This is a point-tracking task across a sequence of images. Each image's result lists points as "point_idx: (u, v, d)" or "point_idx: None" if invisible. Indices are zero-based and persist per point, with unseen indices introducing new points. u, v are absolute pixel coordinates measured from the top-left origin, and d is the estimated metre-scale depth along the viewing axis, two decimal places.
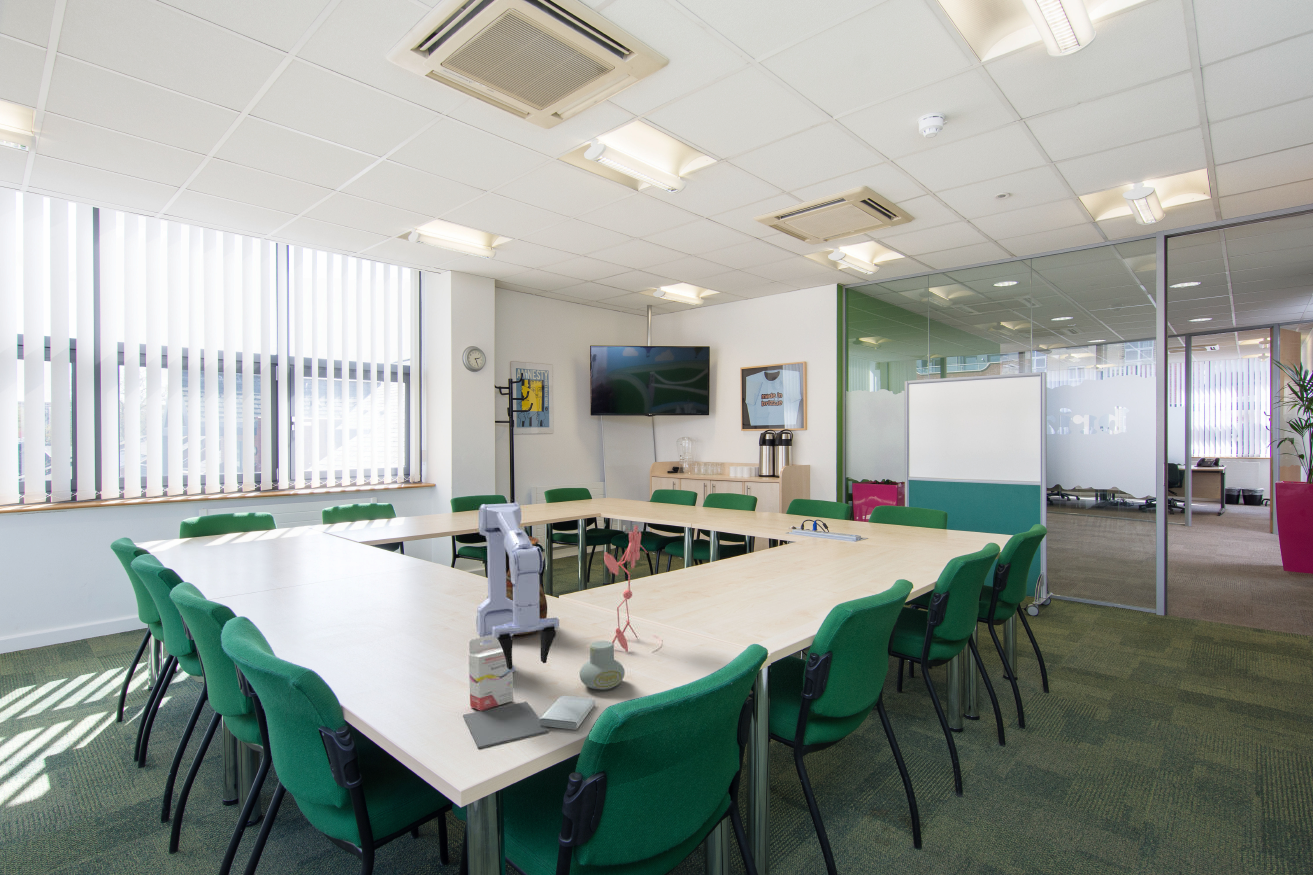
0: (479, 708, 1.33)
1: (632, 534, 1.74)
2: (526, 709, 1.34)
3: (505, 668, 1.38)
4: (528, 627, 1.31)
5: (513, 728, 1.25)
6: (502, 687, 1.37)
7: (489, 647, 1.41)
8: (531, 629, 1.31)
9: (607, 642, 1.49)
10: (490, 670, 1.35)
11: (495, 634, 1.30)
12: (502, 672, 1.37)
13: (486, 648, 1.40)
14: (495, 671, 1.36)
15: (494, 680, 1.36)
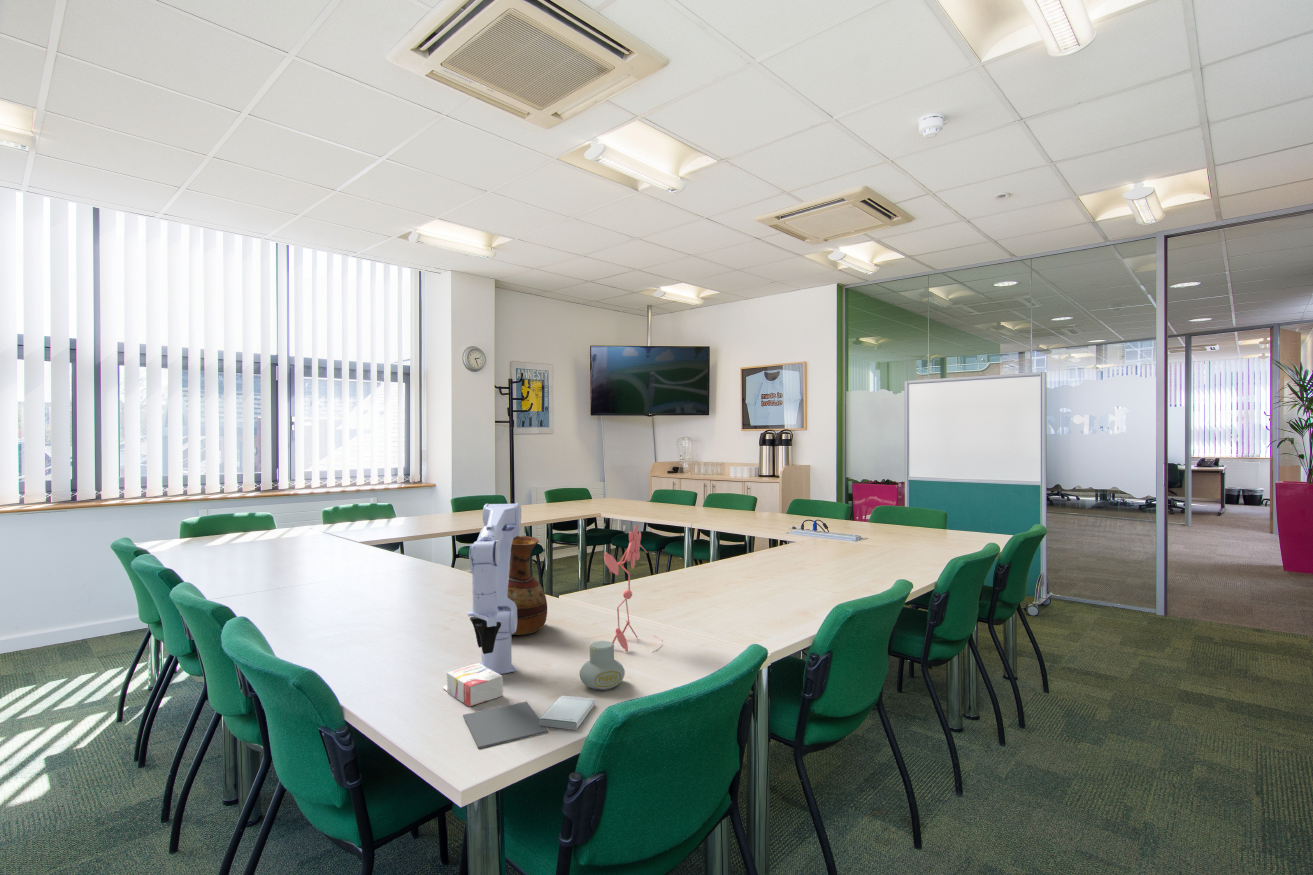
0: (468, 687, 1.37)
1: (632, 534, 1.74)
2: (526, 709, 1.34)
3: (479, 668, 1.46)
4: (470, 612, 1.43)
5: (513, 728, 1.25)
6: (484, 674, 1.43)
7: None
8: (467, 614, 1.42)
9: (607, 642, 1.49)
10: (464, 672, 1.44)
11: None
12: (478, 670, 1.45)
13: None
14: (469, 671, 1.44)
15: (472, 674, 1.43)
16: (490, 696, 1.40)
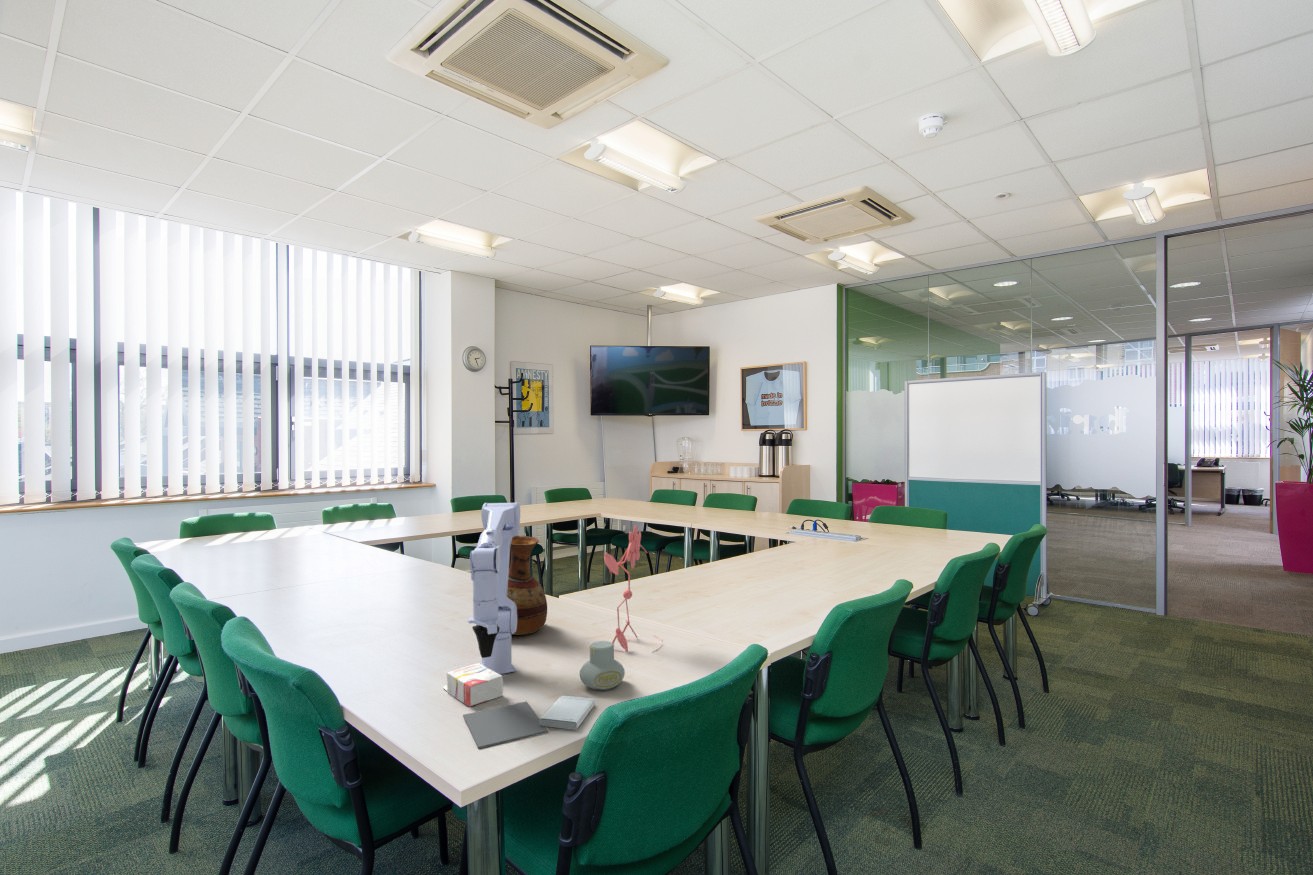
0: (468, 687, 1.37)
1: (632, 534, 1.74)
2: (526, 709, 1.34)
3: (479, 668, 1.46)
4: (470, 618, 1.42)
5: (513, 728, 1.25)
6: (484, 674, 1.43)
7: None
8: (468, 621, 1.41)
9: (607, 642, 1.49)
10: (464, 672, 1.44)
11: None
12: (478, 670, 1.45)
13: None
14: (469, 671, 1.44)
15: (472, 674, 1.43)
16: (490, 696, 1.40)
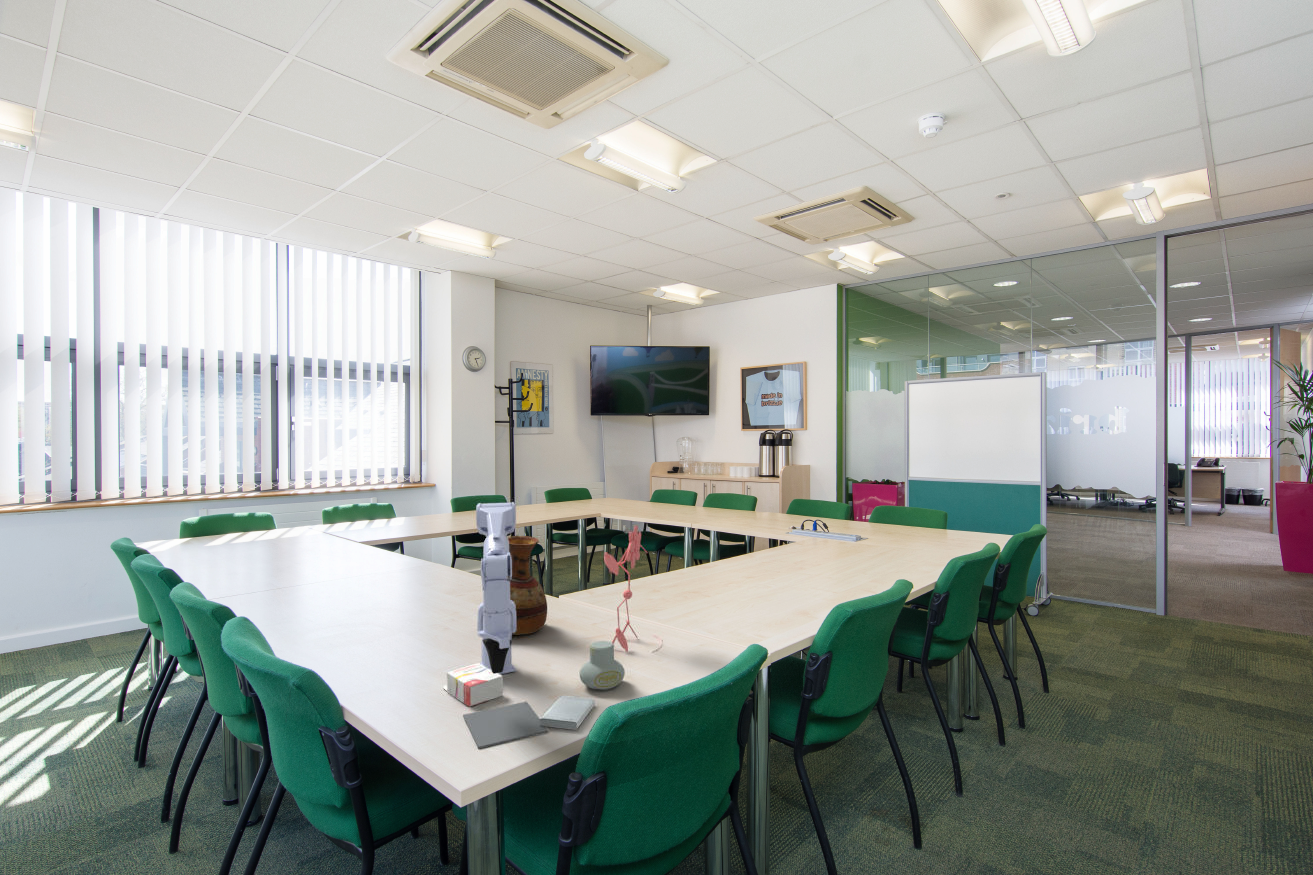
0: (468, 687, 1.37)
1: (632, 534, 1.74)
2: (526, 709, 1.34)
3: (479, 668, 1.46)
4: (480, 631, 1.32)
5: (513, 728, 1.25)
6: (484, 674, 1.43)
7: None
8: (478, 634, 1.31)
9: (607, 642, 1.49)
10: (464, 672, 1.44)
11: None
12: (478, 670, 1.45)
13: None
14: (469, 671, 1.44)
15: (472, 674, 1.43)
16: (490, 696, 1.40)
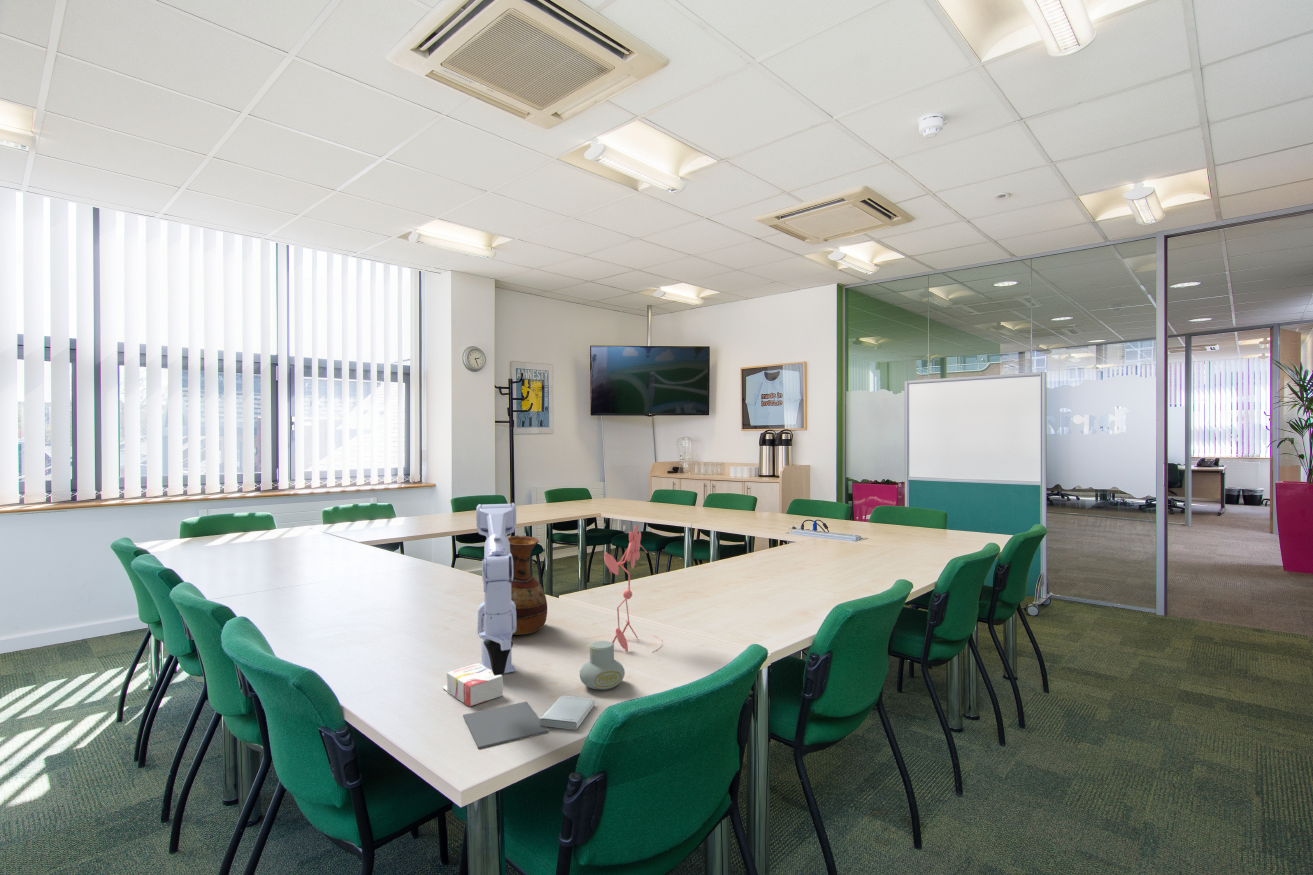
0: (468, 687, 1.37)
1: (632, 534, 1.74)
2: (526, 709, 1.34)
3: (479, 668, 1.46)
4: (481, 633, 1.31)
5: (513, 728, 1.25)
6: (484, 674, 1.43)
7: None
8: (479, 636, 1.30)
9: (607, 642, 1.49)
10: (464, 672, 1.44)
11: None
12: (478, 670, 1.45)
13: None
14: (469, 671, 1.44)
15: (472, 674, 1.43)
16: (490, 696, 1.40)
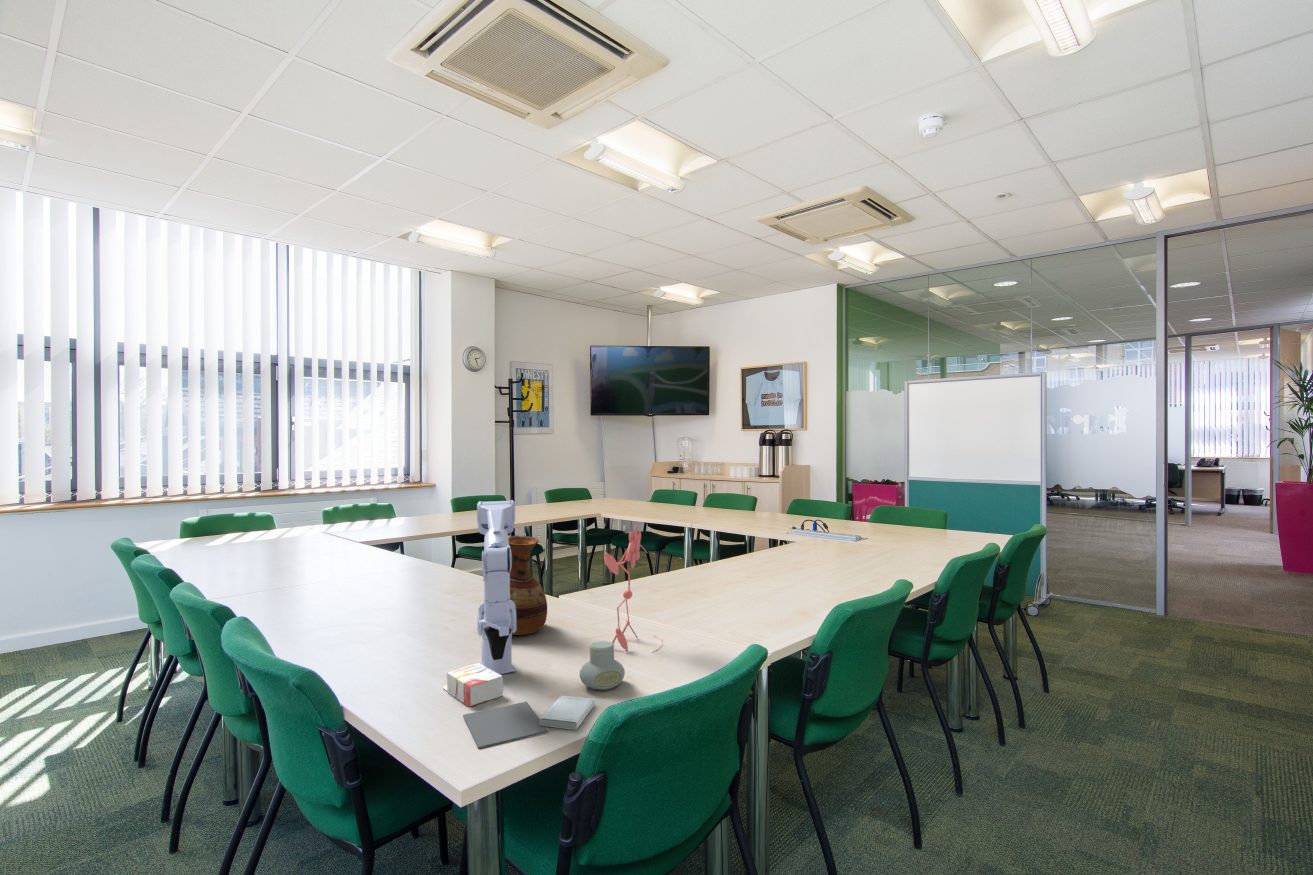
0: (468, 687, 1.37)
1: (632, 534, 1.74)
2: (526, 709, 1.34)
3: (479, 668, 1.46)
4: (481, 620, 1.39)
5: (513, 728, 1.25)
6: (484, 674, 1.43)
7: None
8: (479, 622, 1.38)
9: (607, 642, 1.49)
10: (464, 672, 1.44)
11: None
12: (478, 670, 1.45)
13: None
14: (469, 671, 1.44)
15: (472, 674, 1.43)
16: (490, 696, 1.40)
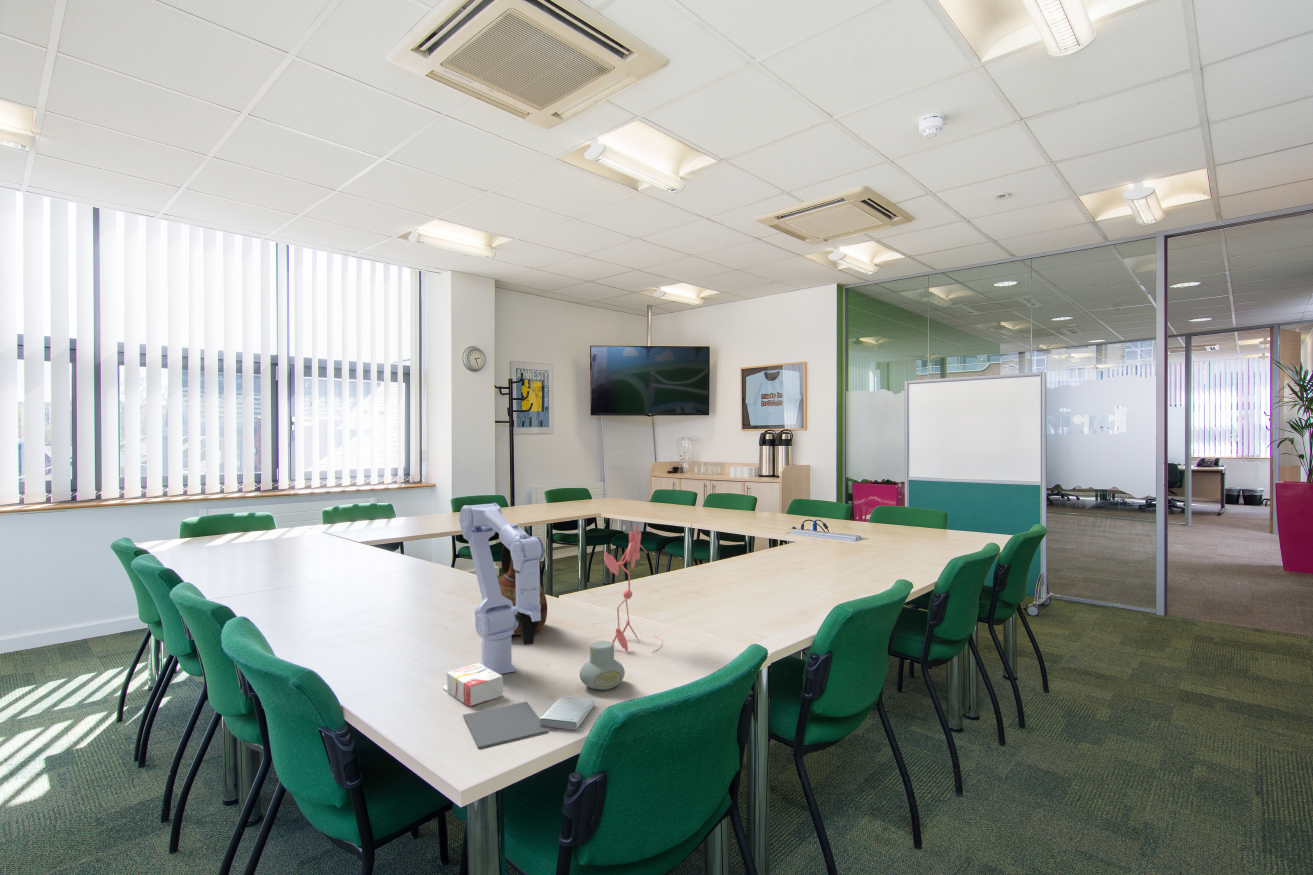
0: (468, 687, 1.37)
1: (632, 534, 1.74)
2: (526, 709, 1.34)
3: (479, 668, 1.46)
4: (513, 607, 1.46)
5: (513, 728, 1.25)
6: (484, 674, 1.43)
7: None
8: (511, 609, 1.46)
9: (607, 642, 1.49)
10: (464, 672, 1.44)
11: None
12: (478, 670, 1.45)
13: None
14: (469, 671, 1.44)
15: (472, 674, 1.43)
16: (490, 696, 1.40)
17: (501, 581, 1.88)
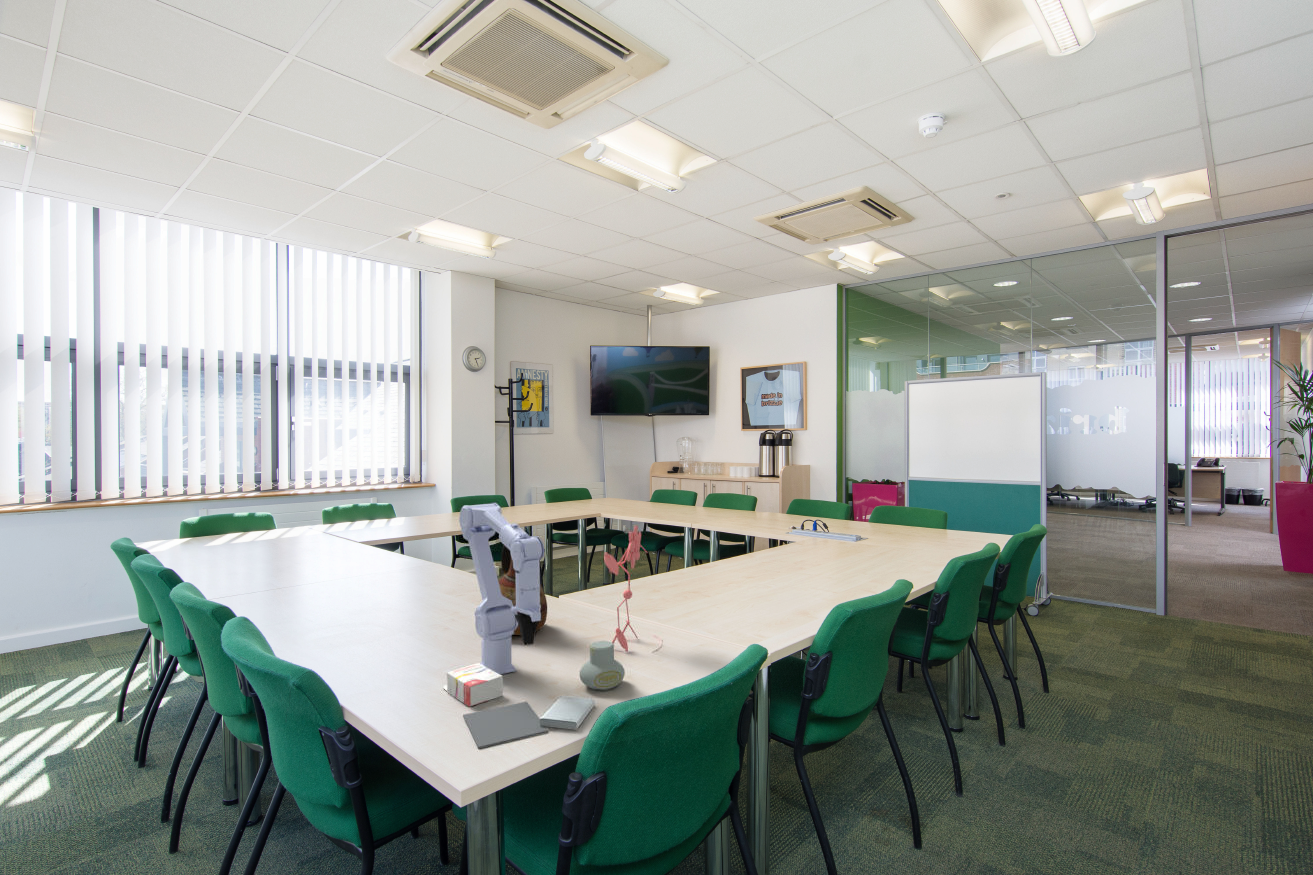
0: (468, 687, 1.37)
1: (632, 534, 1.74)
2: (526, 709, 1.34)
3: (479, 668, 1.46)
4: (513, 607, 1.46)
5: (513, 728, 1.25)
6: (484, 674, 1.43)
7: None
8: (511, 609, 1.46)
9: (607, 642, 1.49)
10: (464, 672, 1.44)
11: None
12: (478, 670, 1.45)
13: None
14: (469, 671, 1.44)
15: (472, 674, 1.43)
16: (490, 696, 1.40)
17: (501, 581, 1.88)
